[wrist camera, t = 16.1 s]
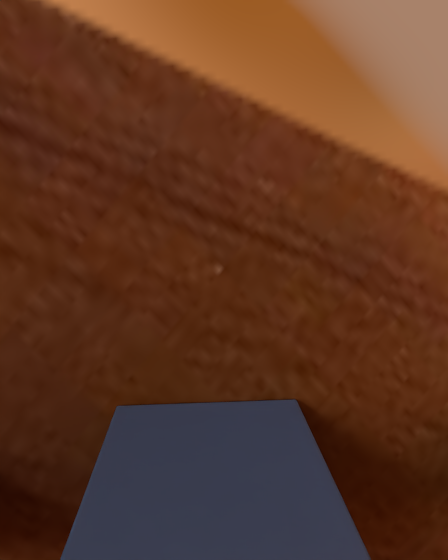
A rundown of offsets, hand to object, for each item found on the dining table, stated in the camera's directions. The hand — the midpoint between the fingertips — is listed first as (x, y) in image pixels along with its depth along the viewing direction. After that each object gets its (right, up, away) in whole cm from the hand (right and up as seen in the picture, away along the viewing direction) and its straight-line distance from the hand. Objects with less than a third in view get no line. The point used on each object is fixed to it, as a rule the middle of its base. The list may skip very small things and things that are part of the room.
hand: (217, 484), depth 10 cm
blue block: (0, 0, 0) cm, 0 cm away
